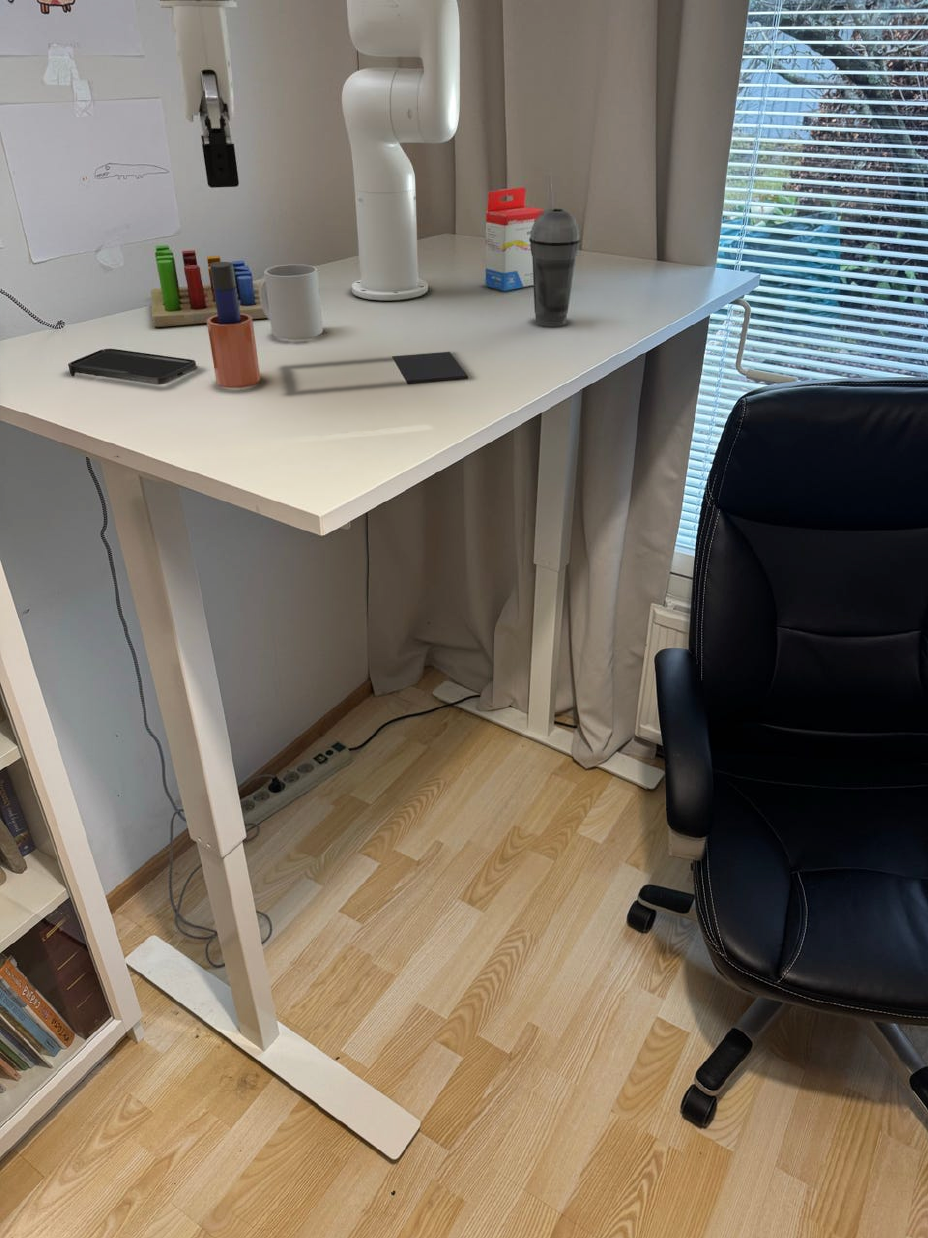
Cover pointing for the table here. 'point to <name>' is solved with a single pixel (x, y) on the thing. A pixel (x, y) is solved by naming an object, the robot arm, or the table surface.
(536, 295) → the beverage cup
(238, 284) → the peg board
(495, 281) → the ink box
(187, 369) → the phone
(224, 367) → the tumbler
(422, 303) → the table surface
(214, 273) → the marker
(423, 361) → the desk mat
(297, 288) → the cup
